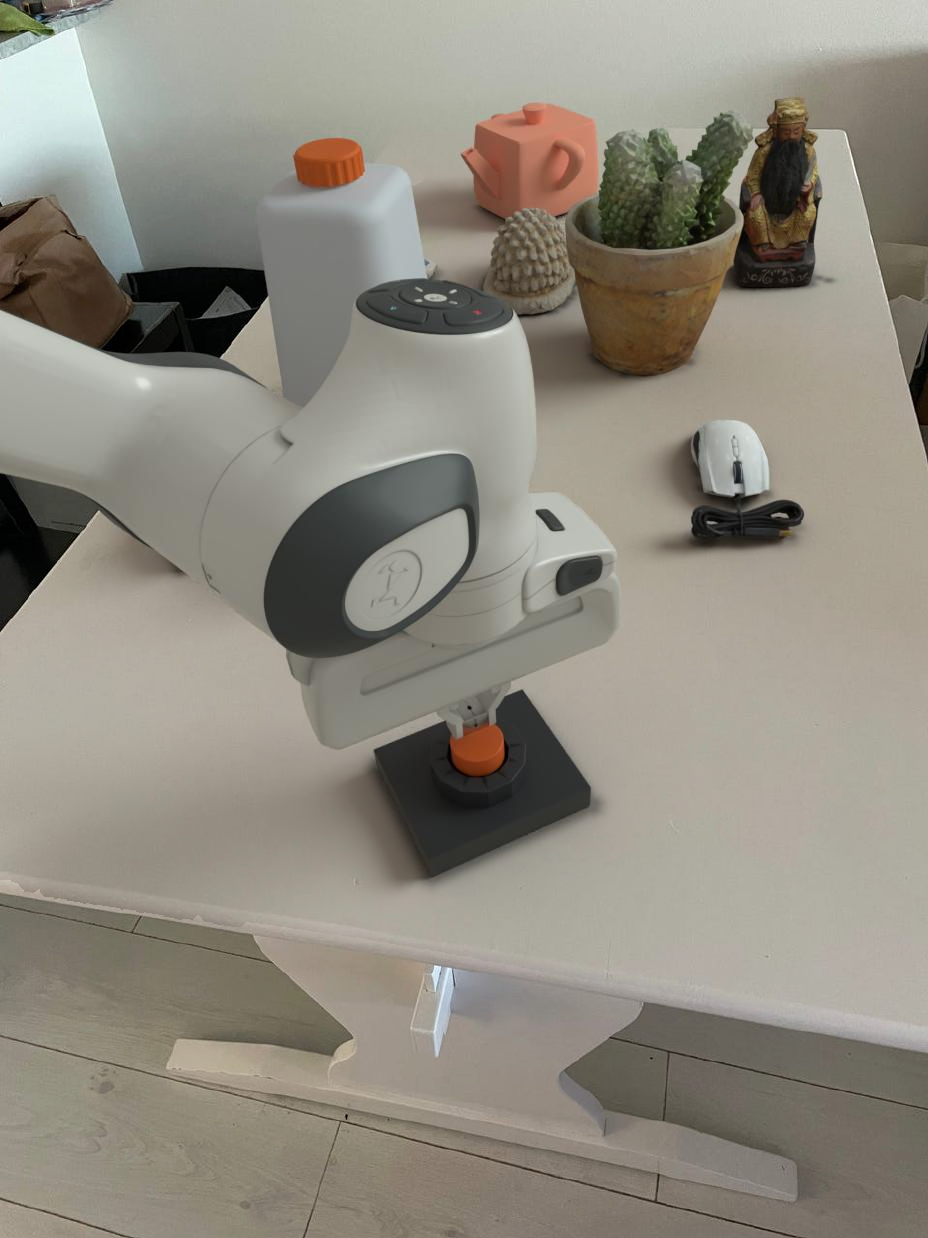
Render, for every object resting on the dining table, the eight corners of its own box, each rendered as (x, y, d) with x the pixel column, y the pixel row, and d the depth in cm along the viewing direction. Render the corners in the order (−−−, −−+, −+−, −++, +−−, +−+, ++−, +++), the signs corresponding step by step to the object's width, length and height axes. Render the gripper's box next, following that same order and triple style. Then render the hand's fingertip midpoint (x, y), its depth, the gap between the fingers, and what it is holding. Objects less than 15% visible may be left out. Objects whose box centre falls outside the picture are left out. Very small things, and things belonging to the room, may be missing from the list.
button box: (432, 877, 61) (426, 845, 58) (377, 767, 67) (369, 733, 65) (590, 805, 64) (592, 771, 61) (523, 707, 71) (521, 672, 68)
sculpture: (581, 258, 126) (583, 182, 119) (567, 317, 114) (569, 236, 107) (495, 257, 128) (492, 181, 121) (473, 314, 116) (468, 235, 109)
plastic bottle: (456, 392, 103) (434, 120, 84) (417, 471, 93) (380, 182, 74) (331, 382, 107) (281, 118, 87) (279, 457, 97) (209, 177, 77)
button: (465, 785, 61) (463, 769, 60) (443, 746, 64) (441, 730, 63) (513, 764, 62) (512, 748, 61) (490, 727, 65) (488, 711, 64)
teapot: (533, 173, 150) (532, 77, 140) (621, 213, 136) (626, 110, 126) (428, 206, 143) (419, 107, 133) (509, 251, 129) (506, 145, 119)
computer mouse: (762, 429, 94) (768, 395, 92) (805, 545, 82) (814, 509, 79) (663, 434, 95) (666, 400, 92) (691, 549, 82) (696, 514, 79)
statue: (730, 289, 117) (754, 116, 103) (728, 262, 122) (750, 94, 108) (831, 290, 115) (869, 114, 101) (824, 262, 120) (859, 91, 106)
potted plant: (614, 410, 99) (627, 164, 81) (534, 337, 111) (531, 110, 94) (756, 365, 103) (798, 122, 86) (664, 299, 116) (685, 76, 98)
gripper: (297, 671, 47) (339, 823, 56) (643, 543, 52) (626, 702, 62) (262, 596, 51) (306, 750, 60) (585, 484, 56) (578, 642, 66)
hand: (470, 725), depth 61 cm, fingers closed
